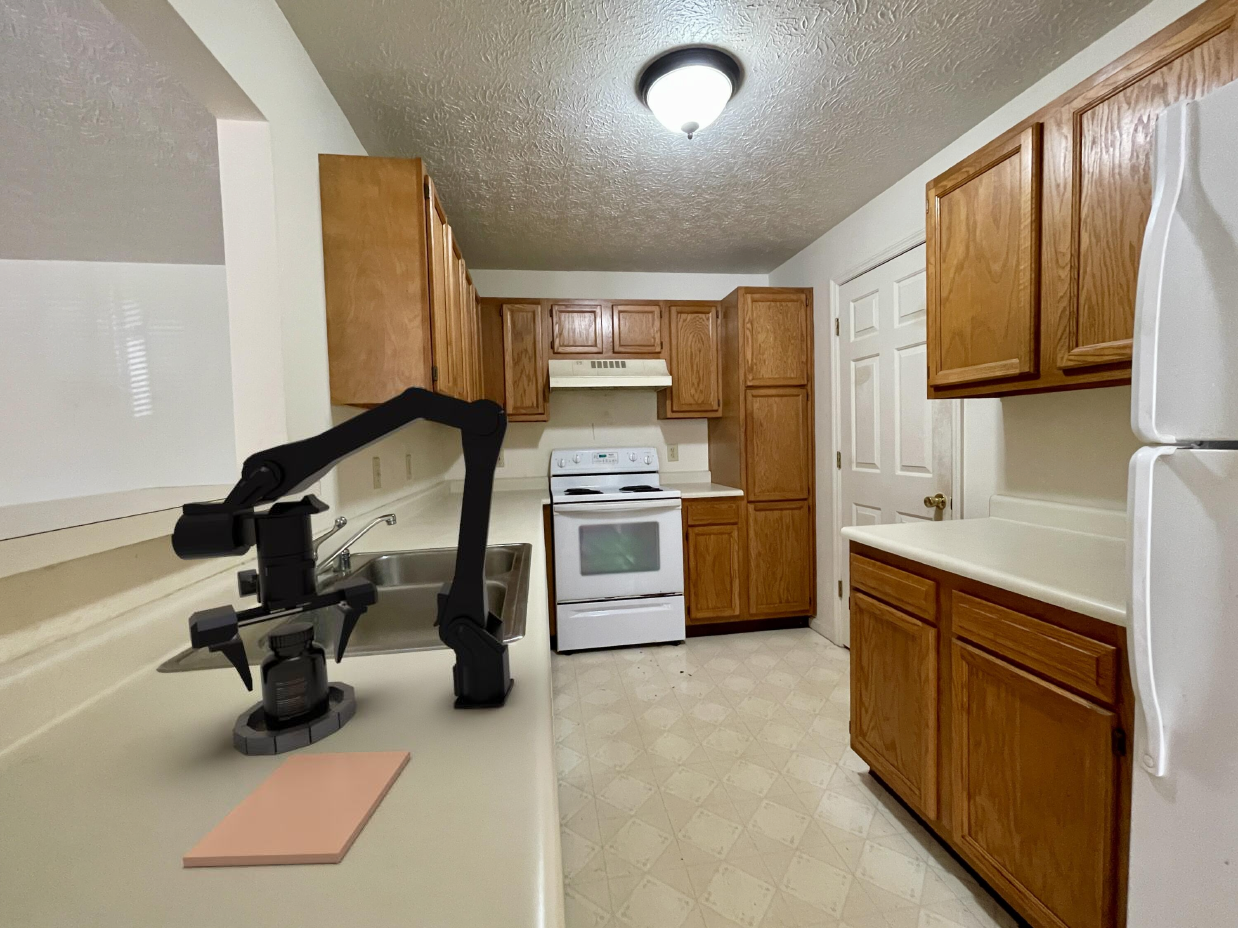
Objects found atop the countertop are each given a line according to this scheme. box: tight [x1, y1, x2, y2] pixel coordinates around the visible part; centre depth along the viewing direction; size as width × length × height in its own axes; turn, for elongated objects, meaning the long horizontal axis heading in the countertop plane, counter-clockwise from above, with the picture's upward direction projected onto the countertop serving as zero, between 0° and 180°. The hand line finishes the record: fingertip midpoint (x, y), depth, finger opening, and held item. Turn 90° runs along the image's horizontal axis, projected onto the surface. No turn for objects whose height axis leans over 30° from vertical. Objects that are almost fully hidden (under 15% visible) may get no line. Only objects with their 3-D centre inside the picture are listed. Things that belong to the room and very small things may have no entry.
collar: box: [232, 681, 356, 756], centre depth 60 cm, size 12×12×2 cm
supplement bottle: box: [259, 621, 331, 731], centre depth 60 cm, size 7×7×12 cm
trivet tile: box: [182, 750, 411, 868], centre depth 46 cm, size 13×13×1 cm
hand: (296, 675), depth 60 cm, fingers open, 9 cm apart
